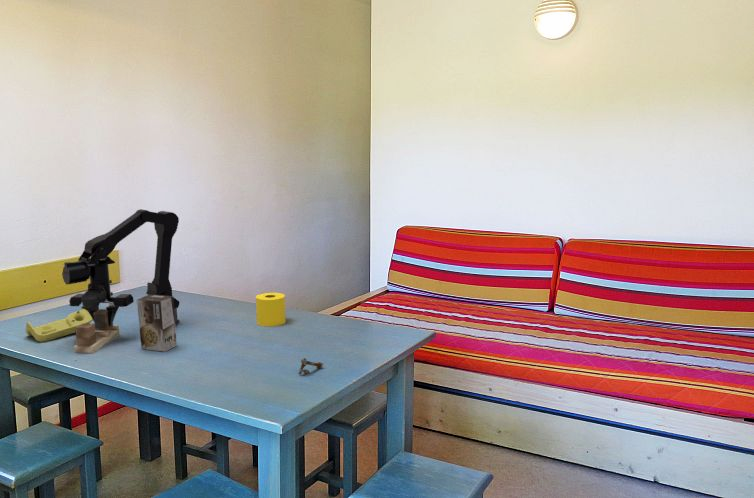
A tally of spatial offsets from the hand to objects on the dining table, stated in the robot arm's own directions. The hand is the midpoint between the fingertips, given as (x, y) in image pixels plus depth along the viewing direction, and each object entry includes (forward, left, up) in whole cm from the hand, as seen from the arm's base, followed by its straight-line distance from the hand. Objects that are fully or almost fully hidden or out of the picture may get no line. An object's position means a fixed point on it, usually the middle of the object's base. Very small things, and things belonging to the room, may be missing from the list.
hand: (104, 325), depth 204 cm
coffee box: (-21, +7, -5) cm, 23 cm away
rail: (0, +5, -4) cm, 6 cm away
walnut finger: (0, 0, -1) cm, 1 cm away
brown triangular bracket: (-72, +25, -5) cm, 76 cm away
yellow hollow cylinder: (-50, -21, -5) cm, 54 cm away
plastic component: (+17, -5, -5) cm, 19 cm away
